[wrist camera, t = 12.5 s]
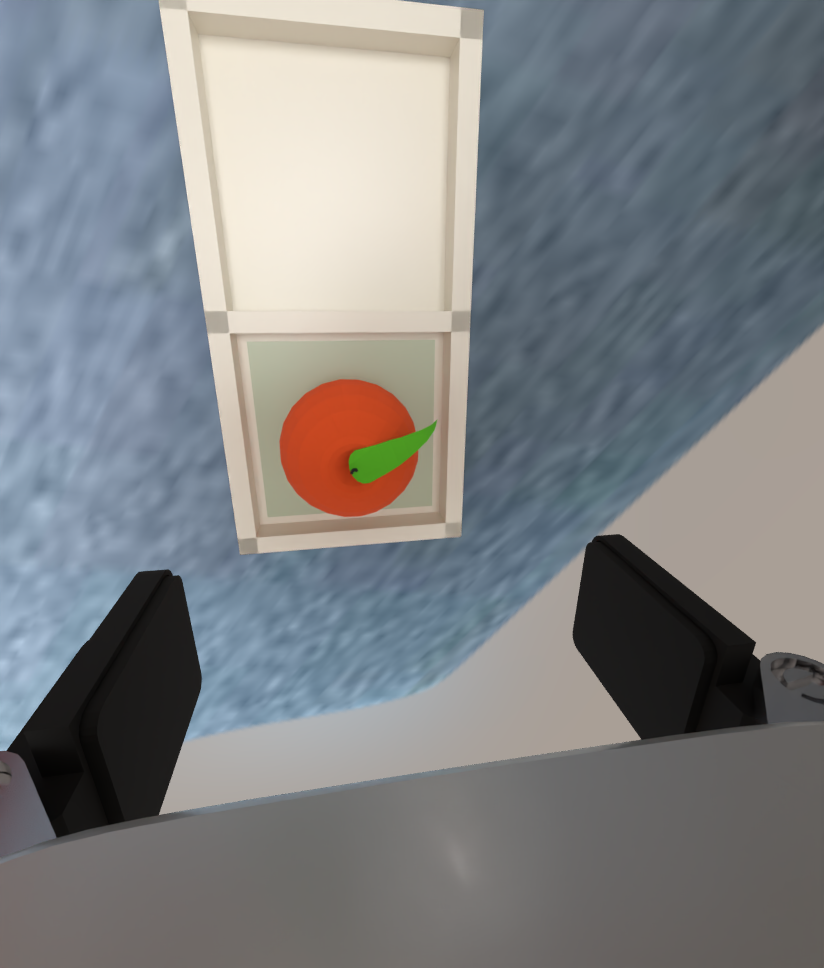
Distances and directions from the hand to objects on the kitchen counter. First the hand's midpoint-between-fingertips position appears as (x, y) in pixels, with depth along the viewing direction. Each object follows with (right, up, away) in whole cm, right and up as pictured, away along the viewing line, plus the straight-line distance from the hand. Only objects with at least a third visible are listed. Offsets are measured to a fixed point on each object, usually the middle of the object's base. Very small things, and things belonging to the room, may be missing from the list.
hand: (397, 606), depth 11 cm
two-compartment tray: (-3, +12, +15) cm, 19 cm away
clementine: (-3, +6, +16) cm, 18 cm away
